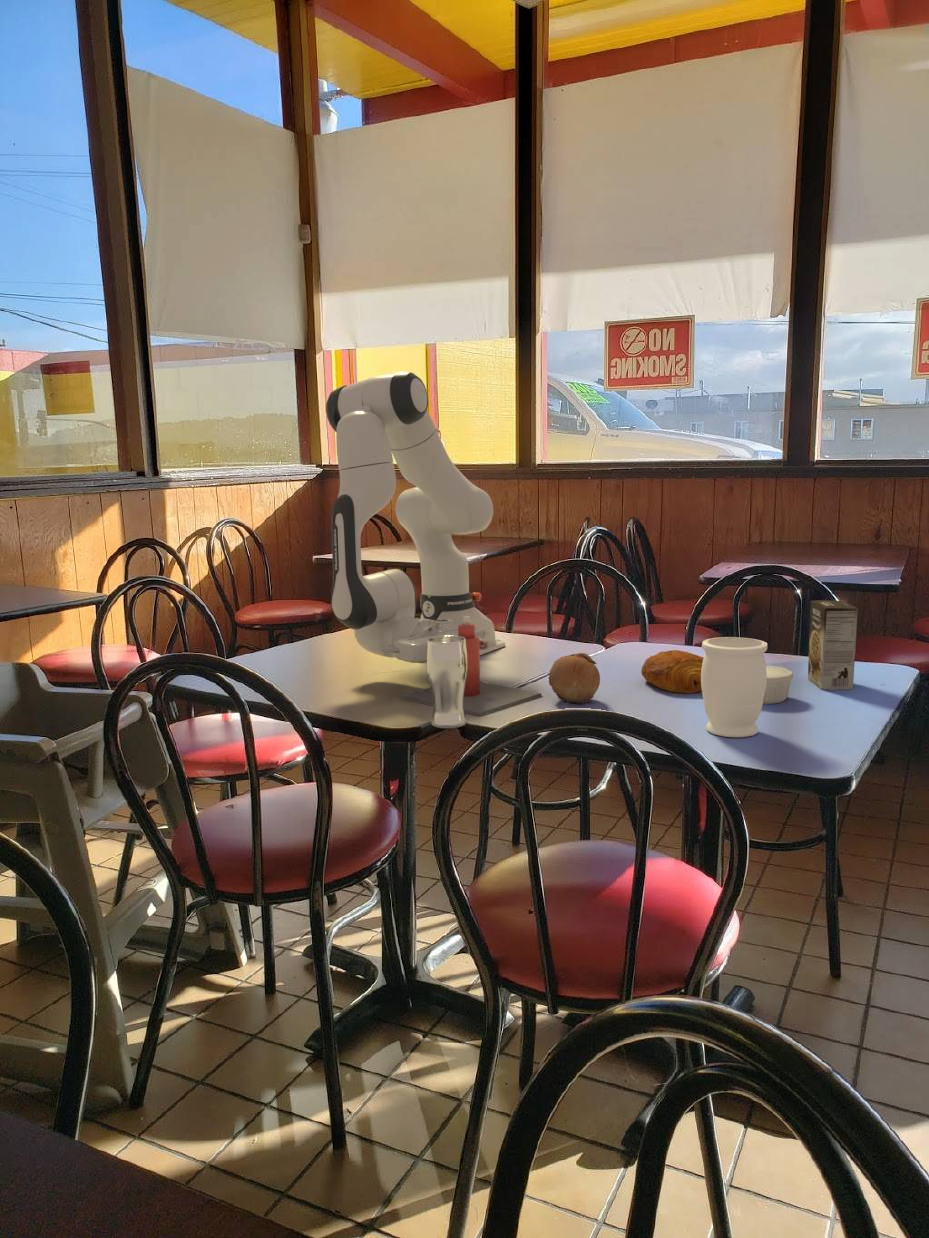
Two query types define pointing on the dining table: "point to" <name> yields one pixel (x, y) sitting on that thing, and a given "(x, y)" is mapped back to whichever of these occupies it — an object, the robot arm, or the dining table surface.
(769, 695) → the ramekin
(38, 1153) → the dining table surface
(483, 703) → the mat
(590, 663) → the brown round fruit
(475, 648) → the bottle
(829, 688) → the coffee box
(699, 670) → the croissant
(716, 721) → the jar
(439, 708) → the beer glass
